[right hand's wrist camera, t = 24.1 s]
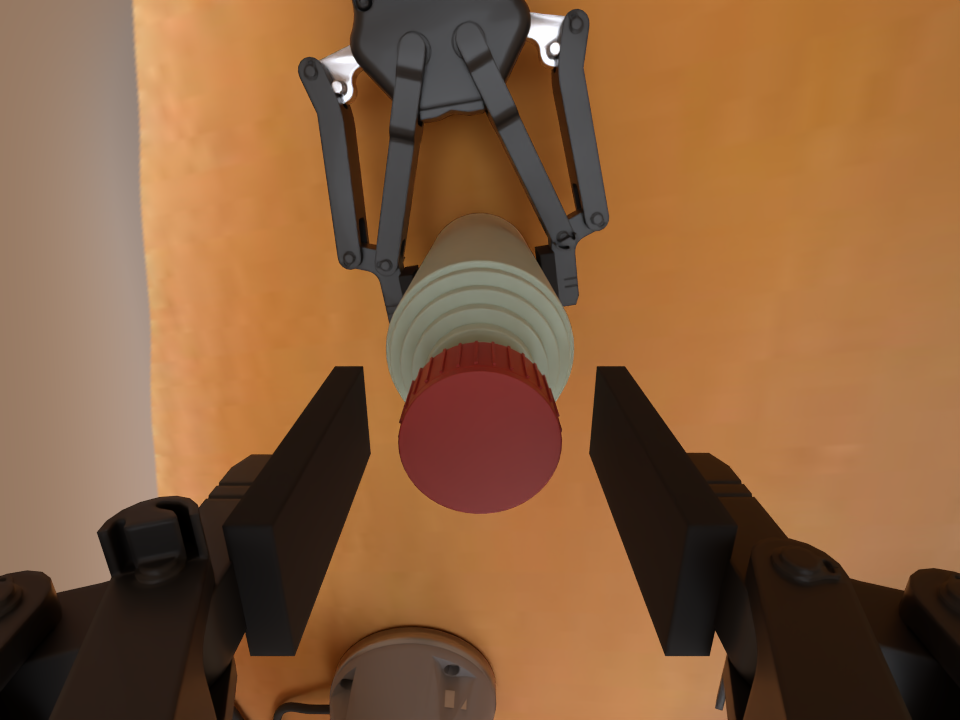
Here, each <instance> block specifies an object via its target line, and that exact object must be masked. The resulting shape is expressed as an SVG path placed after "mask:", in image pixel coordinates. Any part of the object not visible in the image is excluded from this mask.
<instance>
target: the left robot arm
mask: <svg viewBox="0 0 960 720" xmlns="http://www.w3.org/2000/svg"><path fill="white" fill-rule="evenodd" d="M352 2H353V8H354V23H353V28H352V32H351V36H350V45H349V46H347V47H345V48H343V49H341V50H339V51H337V52H335V53H333V54H331V55H329V56H327V57H325V58H323V59H321V60H317V59H315V58H312V57H307V58H304V59H303V60H302V61H301V62H300V64H299V66H298V73H299V76H300V79H301V81H302V83H303V85H304V87H305V89H306V91H307V94H308V96H309V98H310V100H311V102H312V104H313V106H314V108H315V110H316V112H317V115H318V122H319V129H320V136H321V143H322V150H323V157H324V164H325V171H326V178H327V185H328V192H329V199H330V206H331V213H332V220H333V227H334V234H335V241H336V248H337V255H338V260H339V263H340V264H341V265H342V267H344V268H346V269H350V270H352V269H360V270H365V271H369V272H372V273H373V274H375V275H376V276H377V277H378V279H379V281H380V284H381V288H382V293H383V297H384V302H385V306H386V310H387V315H388V319H389V324H390V322H391V319H392V316H393V314H394V312H395V310H396V308H397V306H398V305H399V303H400V301H401V299H402V297H403V296H404V294H405V292H406V290H407V289H408V287H409V285H410V284H411V282H412V280H413V278H414V277H415V275H416V273H417V271H418V270H419V267H418V265H415V266H409V267H405V268H404V265H403V261H404V259H405V257H404V252H405V245H406V238H407V231H408V224H409V217H410V210H411V203H412V196H413V189H414V182H415V175H416V168H417V161H418V155H419V148H420V143H421V139H422V134H423V127H424V123H428V122H434V121H440V120H442V119H444V118H446V117H448V116H450V115H452V114H461V115H475V114H481V113H484V111H485V112H486V114H487V116H488V118H489V120H490V122H491V124H492V126H493V128H494V130H495V132H496V134H497V136H498V138H499V140H500V142H501V144H502V146H503V148H504V150H505V152H506V154H507V156H508V158H509V160H510V162H511V164H512V166H513V168H514V170H515V172H516V174H517V176H518V178H519V180H520V182H521V184H522V186H523V188H524V190H525V193H526V195H527V197H528V199H529V201H530V203H531V205H532V207H533V209H534V211H535V213H536V215H537V217H538V219H539V221H540V223H541V225H542V227H543V229H544V231H545V233H546V235H547V237H548V245H544V246H538V247H535V252H536V261H537V262H538V264H539V266H540V268H541V269H542V271H543V273H544V274H545V276H546V278H547V280H548V281H549V283H550V285H551V287H552V288H553V290H554V292H555V294H556V295H557V297H558V299H559V301H560V302H561V304H562V306H569V305H576V303H577V299H578V296H579V292H578V281H577V269H576V258H575V248H576V245H577V243H578V242H579V241H580V240H581V239H582V238H583V237H585V236H587V235H589V234H591V233H592V232H594V231H600V230H602V229H604V228H605V227H606V226H607V224H608V221H609V214H608V208H607V202H606V196H605V190H604V185H603V179H602V173H601V167H600V161H599V156H598V150H597V144H596V138H595V132H594V127H593V121H592V115H591V109H590V103H589V98H588V92H587V86H586V80H585V74H584V69H583V67H584V60H585V53H586V46H587V39H588V31H589V18H588V16H587V14H586V13H585V12H584V11H583V10H580V9H574V10H571V11H570V12H568V13H567V15H566V16H557V15H548V14H538V13H530V10H529V8H528V5H527V3H526V2H525V0H352ZM525 41H527V42H531V43H532V44H534V46H535V47H536V48H537V51H538V57H539V61H540V64H541V65H542V66H543V67H544V68H546V69H552V88H553V94H554V100H555V105H556V110H557V115H558V120H559V125H560V131H561V136H562V141H563V146H564V151H565V156H566V162H567V167H568V172H569V177H570V182H571V187H572V192H573V198H574V203H575V208H576V211H574V212H572V213H571V214H569V215H567V216H566V214H565V212H564V209H563V207H562V205H561V203H560V201H559V199H558V197H557V195H556V192H555V190H554V188H553V186H552V184H551V182H550V180H549V178H548V176H547V173H546V171H545V169H544V167H543V165H542V163H541V161H540V159H539V156H538V154H537V152H536V150H535V148H534V146H533V144H532V142H531V140H530V137H529V135H528V133H527V131H526V129H525V127H524V125H523V123H522V120H521V118H520V116H519V113H518V110H517V108H516V105H515V103H514V101H513V99H512V97H511V95H510V93H509V90H508V88H507V86H506V82H507V80H508V78H509V75H510V73H511V71H512V69H513V67H514V65H515V63H516V61H517V58H518V56H519V54H520V52H521V50H522V48H523V46H524V44H525ZM363 70H364V71H365V72H366V73H367V74H368V76H369V77H370V78H371V79H372V80H373V81H374V82H375V83H376V84H377V85H378V86H379V87H380V88H381V89H382V90H383V91H384V93H385V94H386V95H387V96H388V97H389V98H390V99H391V100H392V101H393V102H392V110H391V118H390V127H389V134H390V141H389V149H388V157H387V165H386V173H385V181H384V190H383V198H382V206H381V214H380V222H379V230H378V238H377V245H374V244H369V238H368V229H367V221H366V213H365V204H364V196H363V188H362V179H361V171H360V163H359V155H358V146H357V138H356V130H355V123H354V117H353V114H352V110H351V107H350V105H349V104H351V103H353V102H354V101H355V99H356V97H357V87H356V79H357V76H358V75H359V73H360V72H362V71H363Z"/></svg>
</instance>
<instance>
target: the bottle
mask: <svg viewBox="0 0 960 720" xmlns="http://www.w3.org/2000/svg"><path fill="white" fill-rule="evenodd" d="M475 341H478V342H487V343H491V342H492V341H493V342H495V344H499V345H503V346H506V347H507V346H510V347H511V349H513V350H515V351H517V352H519V353H521V354H522V353H524V354H525V357H526V358H528V359H529V360H530V361H531V362H532V363H536V364H537V368H538V370H539V371H540V372H541V374H542V375H545V376H546V379H547V383H548V386H549V388H551V391H552V394H553V397H554V400H555V402H556V400H557V399H558V398H559V396H560V394H561V393H562V391H563V389H564V387H565V385H566V383H567V381H568V378H569V375H570V373H571V369H572V364H573V357H574V338H573V333H572V328H571V324H570V321H569V319H568V316H567V314H566V312H565V310H564V308H563V306H562V304H561V302H560V301H559V299H558V297H557V295H556V294H555V292H554V290H553V288H552V287H551V285H550V283H549V281H548V280H547V278H546V276H545V274H544V273H543V271H542V269H541V268H540V266H539V264H538V262H537V261H536V259H535V257H534V255H533V254H532V252H531V250H530V248H529V247H528V245H527V243H526V241H525V240H524V238H523V236H522V235H521V234H520V232H519V231H518V230H517V229H516V228H515V227H514V226H513V225H512V224H511V223H509V222H508V221H506V220H505V219H503V218H500V217H498V216H495V215H492V214H486V213H475V214H469V215H465V216H462V217H460V218H457V219H456V220H454V221H452V222H451V223H450V224H448V225H447V226H446V227H445V228H444V229H443V230H442V231H441V232H440V234H439V235H438V236H437V238H436V240H435V242H434V243H433V245H432V247H431V249H430V250H429V252H428V254H427V256H426V257H425V259H424V261H423V263H422V264H421V266H420V268H419V270H418V271H417V273H416V275H415V277H414V278H413V280H412V282H411V284H410V285H409V287H408V289H407V290H406V292H405V294H404V296H403V297H402V299H401V301H400V303H399V305H398V306H397V308H396V310H395V312H394V314H393V316H392V319H391V322H390V324H389V329H388V333H387V341H386V356H387V363H388V368H389V372H390V375H391V378H392V381H393V383H394V385H395V387H396V389H397V391H398V392H399V394H400V396H401V397H402V399H403V400H404V402H406V398H407V395H408V392H409V389H410V386H411V383H412V380H414V381H415V379H416V378H417V375H418V372H419V369H420V368H422V369H423V367H424V366H425V365H426V364H427V363H428V362H429V360H430V358H431V357H433V358H434V357H435V356H437V355H438V354H440V353H441V352H443V349H445V348H446V349H449V348H452V347H454V346H457V345H458V344H459V343H462V344H465V343H472V342H475Z"/></svg>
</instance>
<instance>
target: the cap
mask: <svg viewBox="0 0 960 720" xmlns="http://www.w3.org/2000/svg"><path fill="white" fill-rule="evenodd" d="M558 417H559V413H558V410H557V407H556V403H555V400H554V397H553V394H552V391H551V388H549V386H548V383H547V379H546V376H545V375H542V374H541V372H540V371H539V370H538V368H537V364H536V363H532V362H531V361H530V360H529V359H528V358H526V357H525V354H524V353H522V354H521V353H519V352H517V351H515V350H513V349H511V347H510V346H507V347H506V346H503V345H499V344H495V342H493V341H492V342H491V343H487V342H478V341H475V342H472V343H465V344H462V343H459V344H458V345H457V346H454V347H452V348H449V349H446V348H445V349H443V352H441V353H440V354H438V355H437V356H435V357H434V358H433V357H431V358H430V360H429V362H428V363H427V364H426V365H425V366H424V367H423V369H422V368H420V369H419V372H418V375H417V378H416V379H415V381H414V380H412V383H411V386H410V389H409V392H408V395H407V398H406V402H405V405H404V408H403V411H402V414H401V418H400V421H399V423H401V426H400V430H399V435H398V438H399V439H398V445H399V454H400V458H401V462H402V464H403V467H404V469H405V471H406V473H407V475H408V476H409V478H410V479H411V481H412V482H413V483H414V485H415V486H416V487H417V488H418V489H419V490H420V491H421V492H422V493H423V494H425V495H426V496H427V497H428V498H430V499H431V500H433V501H435V502H436V503H438V504H440V505H442V506H444V507H447V508H450V509H453V510H456V511H460V512H465V513H474V514H487V513H495V512H500V511H504V510H508V509H511V508H513V507H516V506H518V505H520V504H522V503H524V502H526V501H527V500H529V499H530V498H532V497H533V496H534V495H536V494H537V493H538V492H539V491H540V490H541V489H542V488H543V487H544V486H545V485H546V484H547V482H548V481H549V480H550V478H551V477H552V475H553V473H554V471H555V469H556V467H557V465H558V462H559V459H560V454H561V448H562V437H561V432H562V428H561V425H560V422H559V418H558Z"/></svg>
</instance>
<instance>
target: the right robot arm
mask: <svg viewBox="0 0 960 720" xmlns="http://www.w3.org/2000/svg"><path fill="white" fill-rule="evenodd" d="M370 454H371V451H370V440H369V429H368V417H367V406H366V394H365V383H364V372H363V366H335V367H334V369H333V370H332V372H331V373H330V374H329V376H328V377H327V379H326V380H325V381H324V383H323V384H322V386H321V387H320V388H319V390H318V391H317V393H316V394H315V395H314V397H313V398H312V400H311V401H310V403H309V404H308V405H307V407H306V408H305V410H304V411H303V412H302V414H301V415H300V417H299V418H298V419H297V421H296V422H295V424H294V425H293V426H292V428H291V429H290V431H289V432H288V433H287V435H286V436H285V438H284V439H283V441H282V442H281V443H280V445H279V446H278V448H277V449H276V450H275V452H274V453H273V455H250V456H248V457H247V458H245V459H244V460H242V461H241V462H239V463H238V464H236V465H235V466H233V467H232V468H231V469H230V470H229V471H228V472H227V474H226V475H225V476H224V477H223V479H222V480H221V481H220V482H219V486H216V487H215V488H214V490H213V491H212V492H211V493H210V495H209V498H208V499H205V501H204V502H203V503H202V504H201V506H200V507H199V508H198V504H196V503H195V502H194V501H193V500H191V499H190V498H185V497H180V496H168V497H158V498H154V499H151V500H147V501H143V502H139V503H137V504H135V505H133V506H130V507H128V508H126V509H124V510H122V511H120V512H119V513H117V514H116V515H114V516H113V517H112V518H110V519H108V520H107V521H106V522H105V523H104V524H103V526H102V527H101V528H100V529H99V530H98V532H97V534H98V537H99V540H100V543H101V546H102V549H103V552H104V555H105V558H106V562H107V565H108V568H109V571H110V574H111V580H110V581H107V582H103V583H99V584H95V585H90V586H86V587H82V588H77V589H73V590H68V591H63V592H59V593H56V591H55V588H54V586H53V583H52V580H51V578H50V577H48V576H47V575H46V574H44V573H43V572H38V571H21V572H15V573H10V574H5V575H2V576H0V720H244V719H243V717H242V716H241V714H240V713H239V711H238V710H237V709H236V707H235V706H234V701H235V692H236V683H237V671H236V665H235V660H234V656H233V655H234V653H235V651H236V649H237V647H238V645H239V643H240V641H241V639H242V637H243V635H244V633H246V638H247V642H248V647H249V651H250V656H295V654H296V651H297V649H298V646H299V643H300V641H301V638H302V635H303V633H304V630H305V627H306V625H307V622H308V619H309V617H310V614H311V611H312V609H313V606H314V603H315V601H316V598H317V595H318V593H319V590H320V587H321V585H322V582H323V579H324V577H325V574H326V571H327V569H328V566H329V563H330V561H331V558H332V555H333V553H334V550H335V547H336V545H337V542H338V539H339V537H340V534H341V531H342V529H343V526H344V523H345V521H346V518H347V515H348V513H349V510H350V507H351V505H352V502H353V499H354V497H355V494H356V491H357V489H358V486H359V483H360V481H361V478H362V475H363V473H364V470H365V467H366V465H367V462H368V459H369V457H370ZM589 454H590V457H591V459H592V462H593V465H594V467H595V470H596V473H597V475H598V478H599V481H600V483H601V486H602V489H603V491H604V494H605V497H606V499H607V502H608V505H609V507H610V510H611V513H612V515H613V518H614V521H615V523H616V526H617V529H618V531H619V534H620V537H621V539H622V542H623V545H624V547H625V550H626V553H627V555H628V558H629V561H630V563H631V566H632V569H633V571H634V574H635V577H636V579H637V582H638V585H639V587H640V590H641V593H642V595H643V598H644V601H645V603H646V606H647V609H648V611H649V614H650V617H651V619H652V622H653V625H654V627H655V630H656V633H657V635H658V638H659V641H660V643H661V646H662V649H663V651H664V654H665V656H710V651H711V647H712V642H713V638H714V633H715V631H716V633H717V635H718V637H719V639H720V641H721V643H722V645H723V647H724V649H725V651H726V653H727V656H726V660H725V665H724V669H723V673H722V677H721V681H720V686H719V690H718V694H717V699H716V706H715V708H716V709H719V710H723V706H724V702H725V699H726V708H727V717H728V720H960V573H957V572H953V571H947V570H942V569H936V568H931V569H920V570H917V571H916V572H915V573H913V574H912V575H911V576H910V578H909V580H908V583H907V586H906V588H905V591H903V590H898V589H893V588H889V587H884V586H880V585H875V584H871V583H866V582H862V581H858V580H854V579H851V578H849V576H848V575H847V574H846V572H845V571H844V569H843V568H842V567H841V565H840V564H839V563H838V562H836V561H835V560H834V559H833V558H831V557H830V556H829V555H828V554H826V553H825V552H823V551H821V550H819V549H817V548H815V547H813V546H811V545H809V544H807V543H803V542H800V541H797V540H793V539H790V538H788V537H787V536H786V535H785V534H784V532H783V531H782V530H781V529H780V528H779V526H778V525H777V524H776V523H775V522H774V520H773V519H772V518H771V517H770V515H769V514H768V513H767V512H766V511H765V509H764V508H763V507H762V506H761V504H760V503H759V502H758V501H757V500H756V498H755V497H752V493H751V492H750V491H749V490H748V489H747V487H746V486H745V485H744V484H742V483H741V480H740V479H739V478H738V476H737V475H736V474H735V473H734V472H733V470H732V469H731V468H730V467H729V466H728V465H727V464H725V463H724V462H722V461H721V460H719V459H717V458H716V457H714V456H713V455H711V454H710V453H686V452H685V450H684V449H683V448H682V446H681V445H680V443H679V442H678V441H677V439H676V438H675V436H674V435H673V433H672V432H671V431H670V429H669V428H668V426H667V425H666V424H665V422H664V421H663V419H662V418H661V417H660V415H659V414H658V412H657V411H656V410H655V408H654V407H653V405H652V404H651V403H650V401H649V400H648V398H647V397H646V395H645V394H644V393H643V391H642V390H641V388H640V387H639V386H638V384H637V383H636V381H635V380H634V379H633V377H632V376H631V374H630V373H629V372H628V370H627V369H626V367H625V366H597V372H596V383H595V394H594V406H593V417H592V429H591V440H590V451H589ZM495 710H496V685H495V677H494V674H493V671H492V669H491V667H490V665H489V663H488V662H487V660H486V659H485V658H484V656H483V655H482V654H481V653H480V652H479V651H478V650H477V649H476V648H474V647H473V646H472V645H470V644H469V643H467V642H466V641H464V640H462V639H460V638H458V637H456V636H454V635H451V634H449V633H446V632H442V631H439V630H434V629H429V628H421V627H403V628H394V629H389V630H385V631H381V632H378V633H375V634H372V635H370V636H368V637H366V638H364V639H362V640H360V641H359V642H357V643H356V644H355V645H353V646H352V647H351V648H350V649H349V650H348V651H347V652H346V653H345V654H344V656H343V657H342V658H341V660H340V662H339V664H338V666H337V669H336V672H335V675H334V679H333V682H332V686H331V690H330V705H309V704H302V703H294V702H290V703H285V704H283V705H281V706H280V707H279V708H278V709H277V710H276V711H275V714H274V718H273V720H281V718H282V715H283V714H284V713H286V712H298V713H305V714H330V720H493V719H494V714H495Z"/></svg>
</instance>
